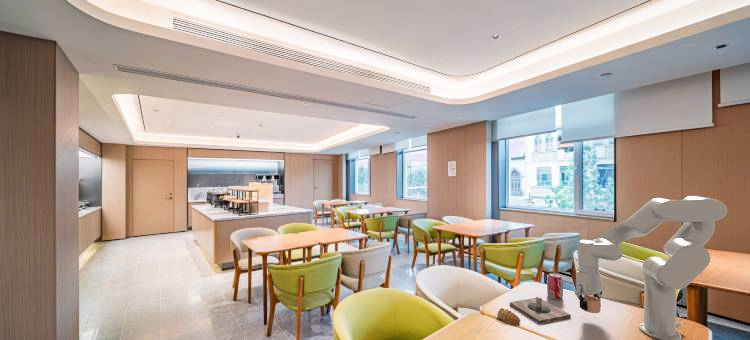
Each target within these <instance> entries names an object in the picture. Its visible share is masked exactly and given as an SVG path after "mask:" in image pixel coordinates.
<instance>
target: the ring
mask: <svg viewBox="0 0 750 340" xmlns="http://www.w3.org/2000/svg"><path fill="white" fill-rule="evenodd" d="M582 297H583V298H584V295H582ZM586 301H587V305H588V310H587V311H586V310H584V309H582V308H580V309H581V310H582V311H585V312H587V313H590V314H599V313H601V307H600V302H601V298H600V299H599V298H597V297H595V296H594V295H588V296H587V299H586Z"/></svg>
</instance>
